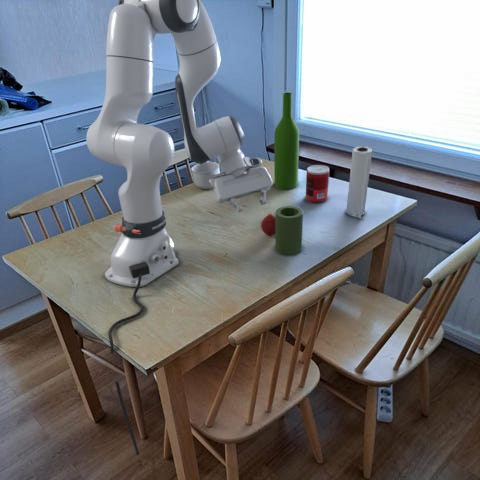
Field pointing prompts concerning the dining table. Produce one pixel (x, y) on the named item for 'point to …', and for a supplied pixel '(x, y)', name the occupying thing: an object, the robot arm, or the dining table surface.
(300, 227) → the green cylindrical vase
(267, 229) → the onion
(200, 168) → the teacup
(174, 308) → the dining table surface
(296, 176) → the wine bottle
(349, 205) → the paper towel roll
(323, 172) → the canned food
